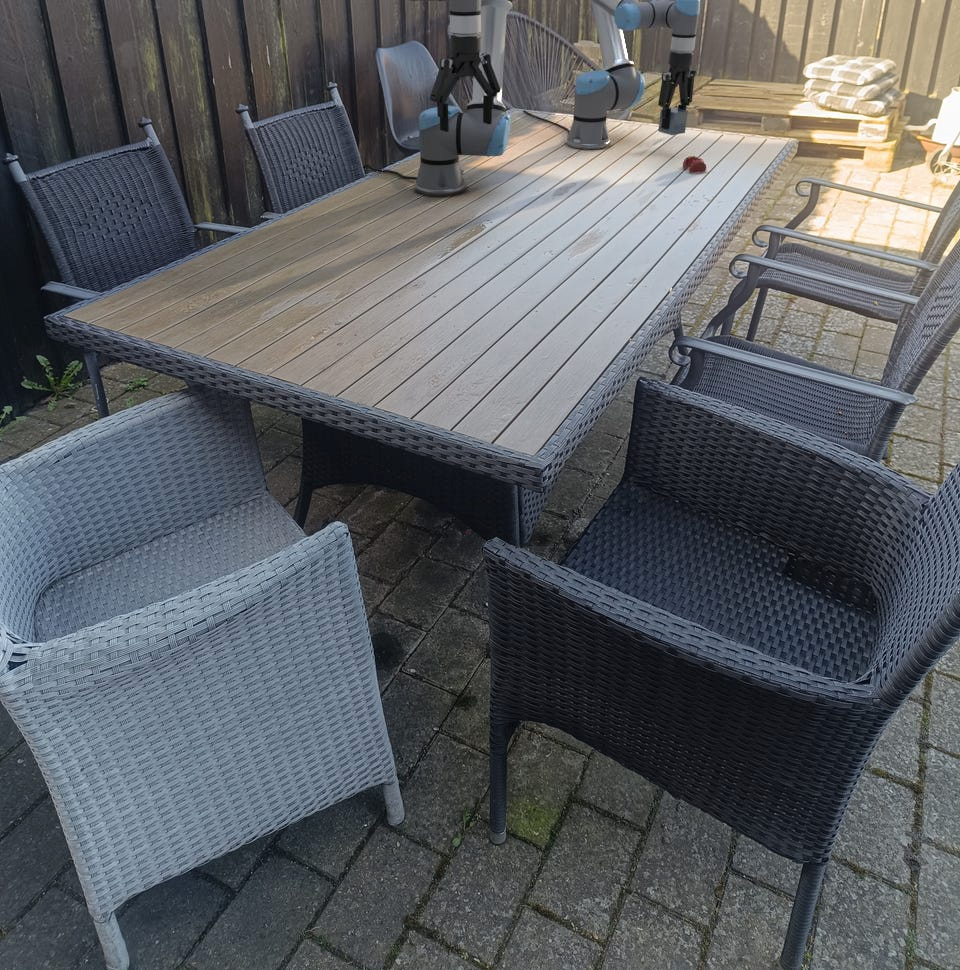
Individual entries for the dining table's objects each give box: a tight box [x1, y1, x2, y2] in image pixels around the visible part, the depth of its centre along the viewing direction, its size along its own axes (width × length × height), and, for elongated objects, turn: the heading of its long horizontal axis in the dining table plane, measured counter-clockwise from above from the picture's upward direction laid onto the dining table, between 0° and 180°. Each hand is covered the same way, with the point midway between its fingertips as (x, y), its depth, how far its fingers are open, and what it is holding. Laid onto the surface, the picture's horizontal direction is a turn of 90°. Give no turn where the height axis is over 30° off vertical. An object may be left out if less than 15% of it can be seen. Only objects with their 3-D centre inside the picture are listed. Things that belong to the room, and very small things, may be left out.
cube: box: [657, 106, 689, 136], centre depth 283 cm, size 7×6×7 cm
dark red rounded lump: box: [682, 155, 707, 173], centre depth 275 cm, size 6×4×8 cm
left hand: (466, 127), depth 217 cm, fingers open, 13 cm apart
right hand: (672, 127), depth 284 cm, fingers closed on cube, 6 cm apart
